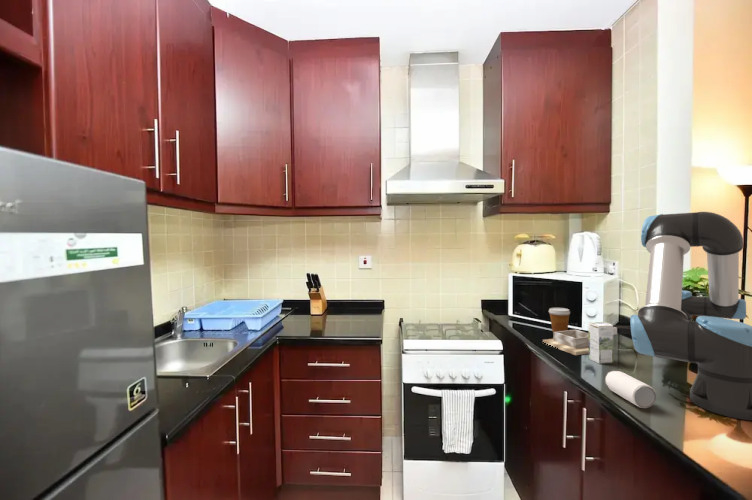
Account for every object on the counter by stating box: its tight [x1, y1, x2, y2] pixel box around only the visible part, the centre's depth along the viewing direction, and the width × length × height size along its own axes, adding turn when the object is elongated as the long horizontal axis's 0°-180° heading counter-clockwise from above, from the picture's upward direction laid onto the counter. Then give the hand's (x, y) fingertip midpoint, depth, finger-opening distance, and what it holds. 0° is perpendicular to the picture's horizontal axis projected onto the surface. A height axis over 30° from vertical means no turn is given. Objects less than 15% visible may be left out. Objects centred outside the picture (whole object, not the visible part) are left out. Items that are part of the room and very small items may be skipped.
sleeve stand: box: [542, 328, 589, 356], centre depth 145 cm, size 18×18×6 cm
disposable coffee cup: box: [548, 307, 571, 333], centre depth 167 cm, size 10×10×12 cm
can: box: [604, 370, 657, 409], centre depth 97 cm, size 6×6×12 cm
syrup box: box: [587, 321, 614, 365], centre depth 127 cm, size 6×6×14 cm
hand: (619, 336), depth 129 cm, fingers open, 13 cm apart
